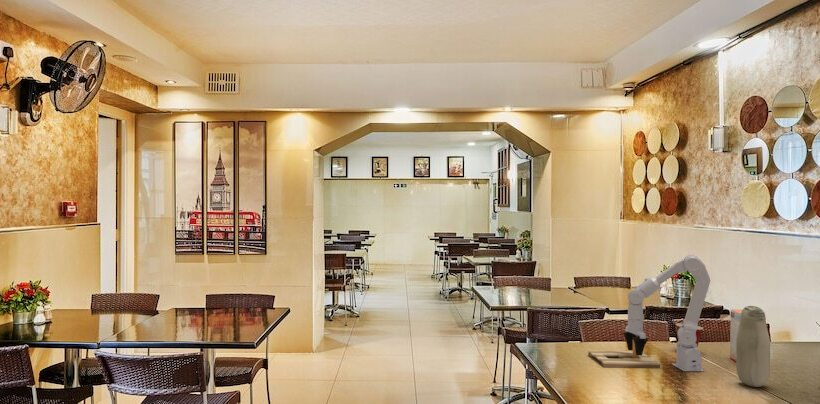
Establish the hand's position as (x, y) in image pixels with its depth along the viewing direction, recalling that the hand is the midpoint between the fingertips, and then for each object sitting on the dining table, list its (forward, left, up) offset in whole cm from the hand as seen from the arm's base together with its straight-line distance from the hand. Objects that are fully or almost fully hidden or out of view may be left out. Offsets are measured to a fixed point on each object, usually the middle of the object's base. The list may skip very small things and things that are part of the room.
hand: (635, 352), depth 225 cm
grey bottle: (-30, -29, -4) cm, 42 cm away
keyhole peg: (0, 0, -4) cm, 4 cm away
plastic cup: (+16, -31, -4) cm, 35 cm away
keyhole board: (0, +5, -4) cm, 6 cm away
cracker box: (0, -45, -4) cm, 45 cm away
